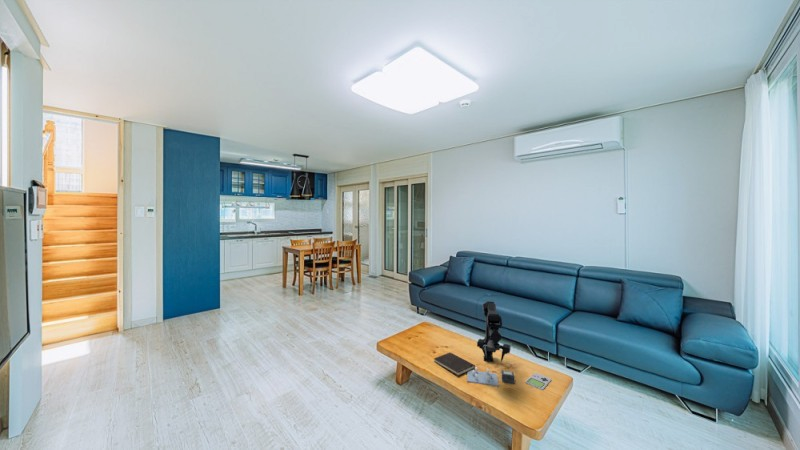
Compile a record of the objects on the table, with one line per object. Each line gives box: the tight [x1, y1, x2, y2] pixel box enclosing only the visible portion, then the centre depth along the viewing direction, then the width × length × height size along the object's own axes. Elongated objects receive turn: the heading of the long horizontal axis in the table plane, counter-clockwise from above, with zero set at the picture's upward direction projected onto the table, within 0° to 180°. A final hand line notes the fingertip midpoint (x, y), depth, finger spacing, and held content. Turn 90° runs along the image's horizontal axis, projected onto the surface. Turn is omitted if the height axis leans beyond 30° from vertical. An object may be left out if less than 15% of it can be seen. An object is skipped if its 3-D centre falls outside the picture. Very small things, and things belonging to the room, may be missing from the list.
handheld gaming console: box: [525, 372, 552, 391], centre depth 169 cm, size 10×2×15 cm
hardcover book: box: [433, 352, 476, 377], centre depth 187 cm, size 16×23×2 cm
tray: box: [466, 366, 499, 387], centre depth 172 cm, size 12×18×4 cm, turn 75°
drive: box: [500, 370, 515, 385], centre depth 169 cm, size 4×7×5 cm, turn 75°
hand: (493, 359), depth 168 cm, fingers open, 9 cm apart
